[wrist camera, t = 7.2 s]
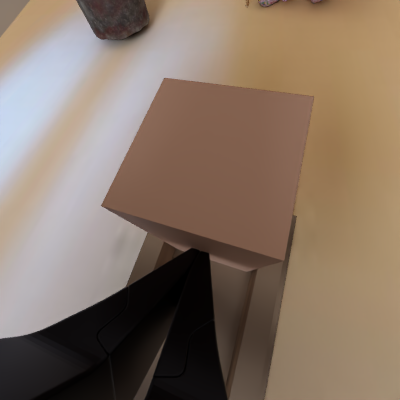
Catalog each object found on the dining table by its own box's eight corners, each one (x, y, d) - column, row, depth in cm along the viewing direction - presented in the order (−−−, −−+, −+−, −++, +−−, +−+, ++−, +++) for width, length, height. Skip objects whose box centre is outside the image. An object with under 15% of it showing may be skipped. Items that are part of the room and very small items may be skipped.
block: (246, 271, 14) (284, 260, 5) (179, 249, 15) (101, 206, 6) (262, 205, 15) (314, 96, 6) (199, 189, 17) (164, 77, 7)
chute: (242, 502, 11) (249, 611, 7) (86, 411, 13) (34, 461, 9) (293, 219, 16) (312, 201, 12) (173, 188, 18) (159, 166, 14)
